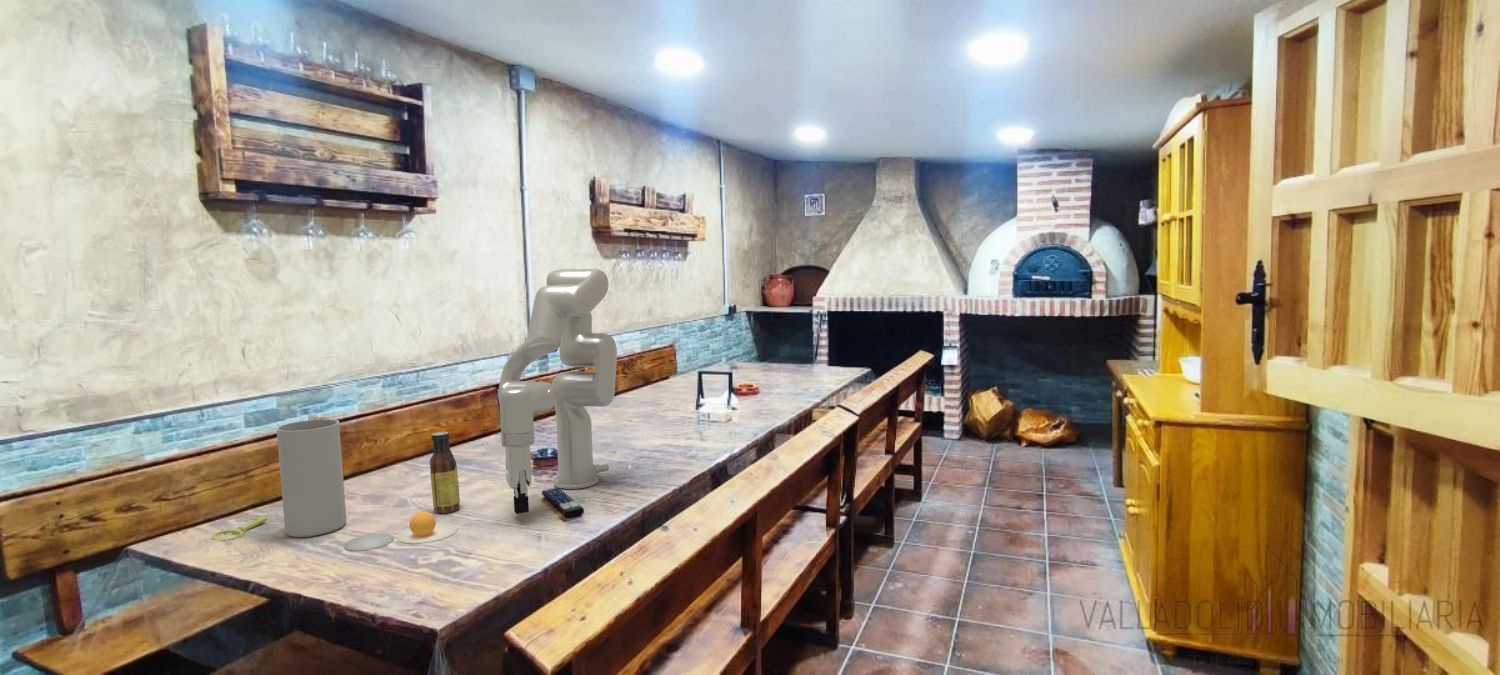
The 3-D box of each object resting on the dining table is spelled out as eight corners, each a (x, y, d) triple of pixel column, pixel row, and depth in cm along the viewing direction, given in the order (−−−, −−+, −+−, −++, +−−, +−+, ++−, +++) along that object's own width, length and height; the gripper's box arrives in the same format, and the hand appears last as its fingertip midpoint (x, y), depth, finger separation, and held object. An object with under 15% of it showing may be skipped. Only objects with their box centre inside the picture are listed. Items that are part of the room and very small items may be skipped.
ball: (419, 505, 169) (407, 527, 168) (415, 509, 163) (402, 532, 163) (441, 515, 170) (429, 537, 169) (438, 520, 165) (426, 542, 164)
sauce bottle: (465, 508, 185) (461, 431, 183) (446, 515, 179) (441, 437, 177) (446, 504, 188) (442, 429, 186) (427, 512, 182) (422, 434, 180)
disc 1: (386, 530, 170) (386, 529, 170) (400, 542, 163) (400, 541, 163) (338, 542, 163) (338, 541, 163) (350, 554, 156) (350, 553, 156)
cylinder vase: (310, 541, 164) (302, 432, 161) (272, 534, 169) (263, 429, 166) (358, 522, 176) (351, 421, 173) (321, 517, 180) (314, 417, 178)
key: (270, 523, 177) (269, 515, 177) (236, 543, 165) (235, 534, 165) (239, 524, 177) (239, 516, 177) (204, 544, 165) (203, 535, 165)
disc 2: (446, 519, 177) (446, 518, 177) (466, 532, 168) (466, 532, 168) (389, 532, 168) (388, 532, 168) (407, 548, 159) (407, 547, 159)
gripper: (497, 433, 180) (501, 505, 182) (505, 446, 167) (509, 524, 169) (529, 430, 183) (532, 500, 185) (539, 442, 170) (542, 519, 172)
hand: (521, 511), depth 177 cm, fingers closed
